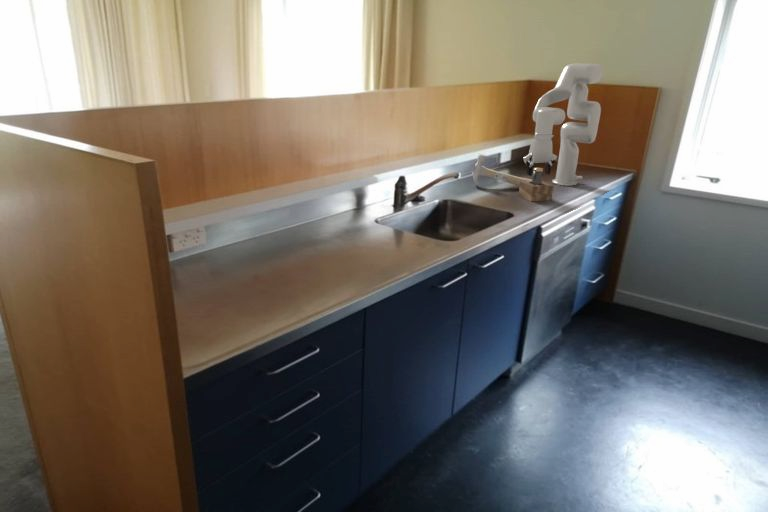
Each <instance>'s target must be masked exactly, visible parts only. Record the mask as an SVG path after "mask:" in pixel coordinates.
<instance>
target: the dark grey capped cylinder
mask: <svg viewBox="0 0 768 512" xmlns="http://www.w3.org/2000/svg"><path fill="white" fill-rule="evenodd" d="M543 176H544V168H543V167H533V169H532V179H531V180H532V184H534V185H541V184H542V181H543Z"/></svg>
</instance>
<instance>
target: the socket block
mask: <svg viewBox="0 0 768 512" xmlns="http://www.w3.org/2000/svg"><path fill="white" fill-rule="evenodd" d="M553 193H554V185H553V184H550V183H549V182H546V181H544V180H542V184H541V185H534V184H532V181H520V186H519V188H518V196H519V197H520V198H523V199H525V200H528V201H530V202H543V201H545V202H546V201H552V200H553V199H552V198H553Z"/></svg>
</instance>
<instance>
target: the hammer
mask: <svg viewBox="0 0 768 512" xmlns="http://www.w3.org/2000/svg"><path fill="white" fill-rule="evenodd" d="M487 158H488V157H487V155H485V154H483V153H478V155H477V158H476V160H477V162H476V163H475V164H474V167H473V170H472V174H471V175H472V178H473V182H474V183H475V185H476V186H477V187H478V188H480V185H479V176H481V177H483V176H486V177H489V178H490V177H491V178H493V179H496V180H499V181H503V182H505V183H508V184H512V185H514V186H520V181H532V179H530V178H526V177H520V176H516V175H512V174H510V173H506V172H502V171H499V170H498V171H497V170H494V169H491V168H487V167H486V166H483V164H484V163H486V161H487Z"/></svg>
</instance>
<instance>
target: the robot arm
mask: <svg viewBox="0 0 768 512" xmlns="http://www.w3.org/2000/svg"><path fill="white" fill-rule="evenodd" d="M603 74H604V70H603V67H602V65H601V64H599V63H579V62H577V63H576V62H574V63H570V64H567V65H566V66H565V67H563V70H562V72H561V73H560V75H559V77H558V80H557V82H556V84H555V86H554V88H553V89H551V90H549V91H547V92H546V93H544V94H543V95H542V96H541V97H540V98H539V99H538V101H537V103H536V105H535V107H534V110H533V111H532V121H533V122H535V129H534V135H533V136H534V138H533V139H532V141H531V142H530V146H529V150H528V154H527V155H525V156H523V158H522V159H523V162H524V164H525V166H526V175H527V176H530V177H532V176H533V170H534V167H532V166H534V165H535V164H542V163H545V169H544V174H546V175H550V174H551V171H552V166H553V164H554V163H555V162H556V161H557V167H556V174H555V178H554V179H552V181H551V182H552V183H553V184H555V185H558V186H564V185H565V186H568V187H570V186H573V185H574V186H576V185H577V184H578V182H577V181H580V180H583V176H582V175H577V174H576V173H577V172H576V171H577V166H578V160H579V153H580V149H579V146H578V144H577V143H582V144H592V143H594V142H595V141H596V137H597V133H598V128H599V123H600V118H601V113H602V112H601V111H602V108H601V104H600V103H599V102H598V101H594V100H593V101H592V100H588V98H589V97H588V96H589V95H588V94H589V87H588V85H593V84H596V83H599V81H600V80H601V79H602V76H603ZM566 100H568V104H567V111H566V112H567V113H566V112H565V110H564V109H562V108H559V107H551V106H550V105H552V104H555V103H559V102H563V101H566ZM549 106H550V107H549ZM566 115H567V117H568V119H570V120H574V121H568V122H565V123H564V121H565V120H566ZM575 120H577V121H584V122H585V121H587V123H583V122H575ZM562 123H563V125H562V126H560V146H559V147H560V148H559V152H558V153H559V154H558V156H557V155H556V154H554V153H553V140H552V138H554V137H555V135H554V134H553V129H554V126H559V125H561V124H562ZM557 158H558V160H557Z"/></svg>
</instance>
